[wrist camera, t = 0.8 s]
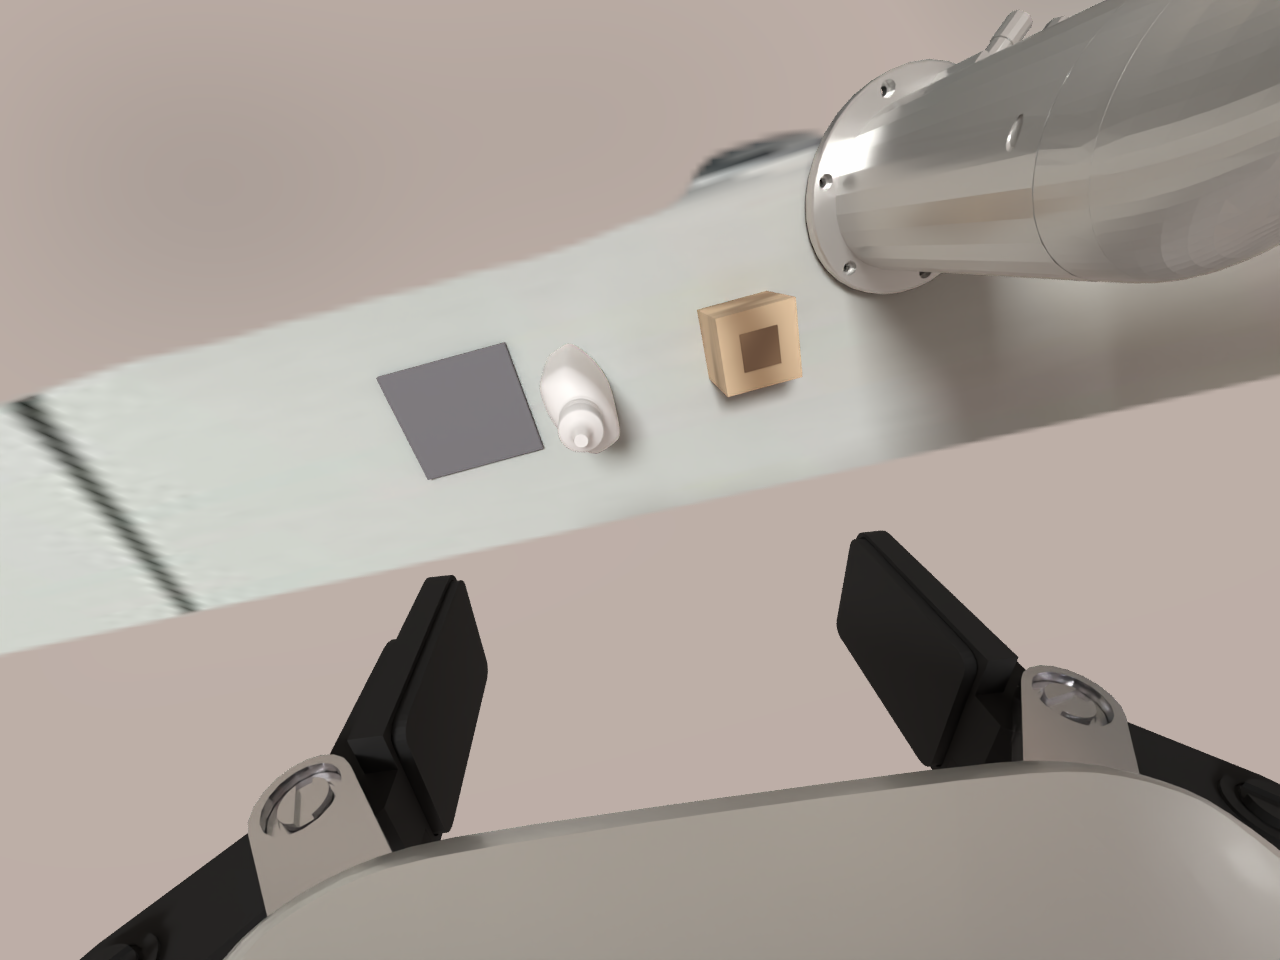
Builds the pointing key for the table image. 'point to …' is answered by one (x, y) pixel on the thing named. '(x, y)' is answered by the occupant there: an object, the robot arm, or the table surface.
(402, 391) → the mat
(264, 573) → the table surface
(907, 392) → the table surface
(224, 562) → the table surface
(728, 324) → the oak cube
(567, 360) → the eye dropper bottle
